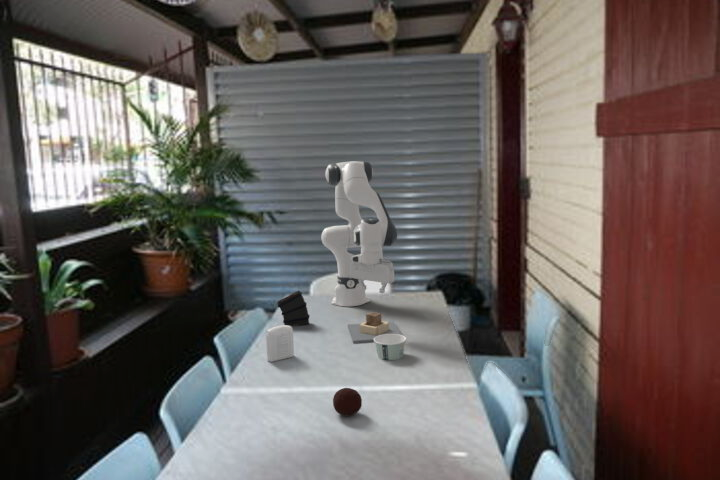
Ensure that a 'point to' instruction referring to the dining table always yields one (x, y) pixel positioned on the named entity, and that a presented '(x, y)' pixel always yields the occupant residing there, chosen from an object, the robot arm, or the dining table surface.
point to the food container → (390, 346)
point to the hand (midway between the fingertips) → (372, 291)
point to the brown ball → (347, 401)
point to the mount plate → (368, 336)
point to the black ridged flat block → (294, 310)
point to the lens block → (373, 319)
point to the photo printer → (279, 343)
